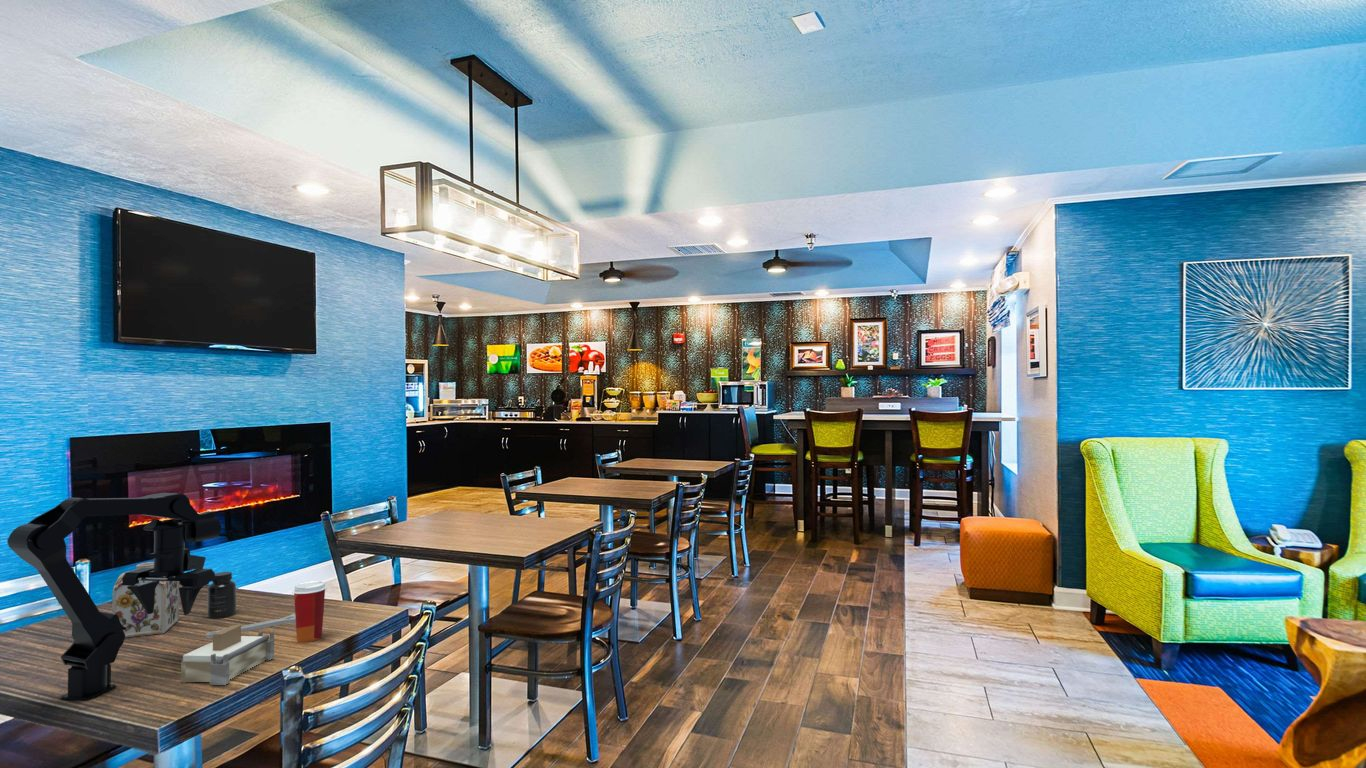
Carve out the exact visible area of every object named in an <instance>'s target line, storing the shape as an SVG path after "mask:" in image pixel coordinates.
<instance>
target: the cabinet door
mask: <svg viewBox="0 0 1366 768" xmlns="http://www.w3.org/2000/svg"><path fill="white" fill-rule="evenodd" d="M241 626H242V625H239V624H238V625H236V624H234V625H231V626H228V627H226V628H224V630H223V629H220V630H221V631H219V632H217V633H215V634H213V638H212V642H209V643H207V644H204V645H202V646H201V647H198V648H196V649H194V650H192V651H189V652H187V653H185V654H183V655H182V661H204V662H211V655H212V654H216V663H217V664H221V663H223V655H225V654H228V660H229V659H231V658H233V657H234V656H236V655H238V654H240V653H242V652H244V651H246V650H248V649H250V648H252V647H254V646H256V645H258V644H260V643H262V642H264V641H266V640H270V634H265V635H263V636H257V635H256V636H255V635H248V636H247V635H242V633H241Z"/></svg>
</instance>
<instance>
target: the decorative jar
mask: <svg viewBox="0 0 1366 768" xmlns="http://www.w3.org/2000/svg"><path fill="white" fill-rule="evenodd" d="M135 568H136V569H135V570H137V569H141V568H154V561H147V562H142V563H139V564H136V567H135ZM133 570H134V569H132V570H128V571H125V572H123V573H121V574H120V575H119V576H118V578H117V579H116V581H115V583H114V586H112V589H113V591H112V602H111V603H112V606H111V607H112V608H111V614H116V615H117V616H118V617H119V620H120V622H121V624H122V625H123V626H124V627H126V630H123V631H124V633H125V637H126V638H125V639H127V638H134V637H135V638H136V637H145V636H152V635H154V634H155V635H161V634H162V635H163V634H165V633H167V631H169V630H170V629H171V628H172V627H173V626H174V625H175V624H177V622H178V621H179V618H180V617H179V616H180V615H179V614H180V613H179V612H180V593H179V588H180V581H160V582H159V583H158V585H157V587H156V588H155V601H154V611H153V613H152V614H147V612H146V610H145V609H144V607H143V606H142V604H141V603H140V601H139V600H138V598H137V597H136V596H135V595H134V593H133V592H132V591H131V590H130V589H127V587H128V586H130V585H122V580H123V576H124V575H125V573H126V572H130V571H133ZM163 577H166V576H163ZM172 577H173V576H172Z"/></svg>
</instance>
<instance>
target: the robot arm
mask: <svg viewBox="0 0 1366 768" xmlns="http://www.w3.org/2000/svg"><path fill="white" fill-rule="evenodd" d="M137 515H140V516H146V517H147V516H148V517H155V518H162V519H163V518H165V519H169V520H162V521H161V520H160V519H154V518H153V519H151V521H150V522H149V523H148V524H146V525H145V526H144V527H143V528H142V529H143V531H151V532H153V539H154V541H153V552H152V553H149V554H148V557H149V559H153V562H154V568H141V569H137V570H136V569H132V570H133V571H132V570H129V571H130V572H128V571H125V572H126V573H125V572H124V573H125V575H124V576H123V580H122V585H130V586H128V587H127V589H130V590H131V591H132V592H133V593H134V595H135V596H136V597H137V598H138V600H139V601H140V603H141V604H142V606H143V607H144V609H145V610H146V612H147V614H152V613H153V611H154V601H155V588H156V587H157V585H158V583H159V582H160V581H179V585H181V587H180V586H179V599H180V604H181V608H182V612H183V615H184V616H187V615H190V614H191V611H192V608H193V606H194V605H195V604H194V603H195V601H196V599H197V596H198V594H199V593H200V591H201V590H202V588H204V587H205V586H207V585H208V586H209V585H210V582H212V581H214V580H215V573H216V572H215V571H214V570H213V568H204V565H205V562H206V559H207V557H205V556H200V555H195V554H191V550H190V548H186V546H185V545H186V544H185V543H186V542H187V543H189V544H191V543H197V542H202V541H208V540H212V539H217V538H218V537H219V536H220V534H221V532H222V524H221V522H220V520H219V518H218V517H217V516H216V511H212V510H211V511H204V512H201V513H198V511H197V510H196V509H195V508H194V507H193V506H192V505H191V501H190V499H189V497H188V496H187V495H186V494H184V493H178V492H177V493H175V492H174V493H173V492H159V493H153V494H149V495H148V494H147V495H145V496H139V497H117V498H116V497H113V498H111V497H110V498H109V497H107V498H99V497H98V498H94V497H93V498H84V497H83V498H82V497H69V498H66V499H64V500H62V501H61V502H59V503H58V504H57V505H56V506H54V507H53V508H51V509H49V510H47V511H45V512H43V513H41V514H40V515H38V516H36V517H33V519H31V521H29V522H27V523H24V524H22V525H18V526H17V527H16V528H14V529H13V530H12V531H11V532H10V534H9V537H8V538H7V540H6V541H7V545H8V547H9V549H10V550H12V552H14V553H15V554H16V556H18V557H19V558H20V559H22V560H23V561H24V562H26V564H29V565H30V566H32V567H33V568H34V569H35V570H37V572H38V573H39V574H40V575H39V576H41V578H42V579H43V581H44V583H46V585H47V587H48V588H49V589H50V590H49V591H50V592H51V593H52V594H53V596H54V597H55V599H56V600H57V602H58V604H59V606H60V607H61V608H62V610H63V611H64V612H65V614H66V615H67V617H68V618H69V620H70V621H71V625H72V626H71V636H72V639H73V643H72V644H71V645H70V646H69V648H67V649H66V651H64V652H63V654H61V657H60V659H61V661H62V663H63V666H70V668H68V669H67V693H64V694H63V695H61V696H60V700H76V701H77V700H80V701H81V700H82V701H85V700H86V701H88V700H91V699H93V698H95V697H98V696H100V695H102V694H104V693H106V692H108V691H111V690H113V689H115V688H116V687H117V684H114V683H113V684H111V683H112V664H113V663H115V661H116V659H117V656H118V654H119V650H120V648H121V647H122V645H123V644H124V642H125V640H126V639H127V638H126V637H125V633H124V631H123V630H126V627H124V626H123V625H122V624H121V622H120V620H119V617H118V616H117V615H116V614H112V612H103V611H101V610H99V608H98V607H97V605H96V604H95V602H94V600H93V599H92V597H91V596H90V594H89V592H88V590H87V589H86V588H85V586H84V584H83V583H82V581H81V580H80V579H79V577H78V575H77V574H76V572H75V570H74V569H73V567H72V566H71V564H70V563H69V561H68V559H67V550H68V549H67V547H68V546H67V544H66V543H67V542H66V541H65V538H67V537H68V536H70V535H71V534H72V533H74V531H75V529H77V527H78V525H79V524H80V523H81V522H82V521H83V520H84V519H85V518H86V517H109V516H137ZM176 520H180V521H181V522H178V521H176ZM185 541H186V542H185ZM163 576H166V577H163ZM172 576H173V577H172Z"/></svg>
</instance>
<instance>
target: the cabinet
mask: <svg viewBox="0 0 1366 768" xmlns="http://www.w3.org/2000/svg"><path fill="white" fill-rule="evenodd" d="M263 633H264V631H263V630H259V631H258V633H257V634H258V636H264V634H263ZM273 658H274V659H275V631H274V630H272V631H270V632H269V639H268V640H266V641H264V642H262V643H260V644H258V645H256V646H254V647H252V648H250V649H248V650H246V651H244V652H242V653H240V654H238V655H236V656H234V657H233V658H231V659H229V660H228V654H225V655H223V663H221V664H217V663H216V654H212V655H211V662H204V661H183V660H181V662H180V664H181V665H180V683H186V682H210V683H209V685H210V686H212V685H226V684H228V683H229V684H230V681H231V680H233V679H235V678H236V677H235V676H237V675H239V674H240V675H242V674H244V673H246V672H248V671H250V670H251V669H253V668H255V667H256V665H257V666H259V665H260V664H262V663H264V662H266V661H269V660H271V659H273ZM274 659H273V660H274ZM265 660H266V661H265ZM271 661H272V660H271ZM258 664H259V665H258ZM254 666H255V667H254ZM252 667H253V668H252ZM250 668H251V669H250ZM247 670H248V671H247ZM245 671H246V672H245ZM243 672H244V673H243ZM241 673H242V674H241ZM240 675H239V676H240ZM234 677H235V678H234ZM237 677H238V676H237ZM232 678H233V679H232ZM230 679H231V680H230ZM229 684H228V685H229ZM226 686H227V685H226Z"/></svg>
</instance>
